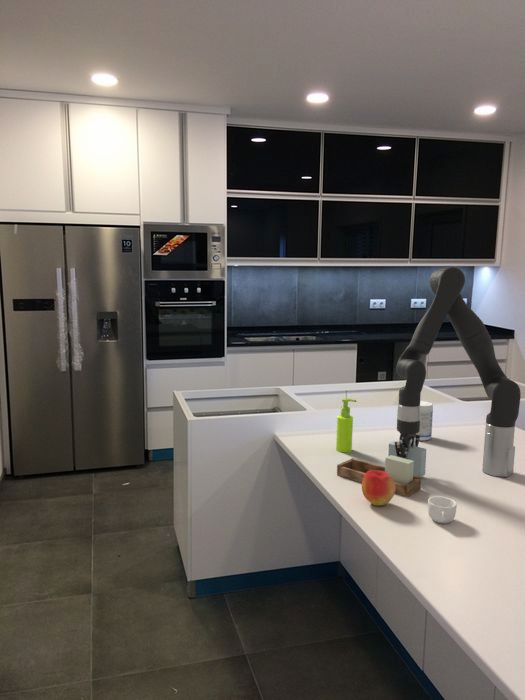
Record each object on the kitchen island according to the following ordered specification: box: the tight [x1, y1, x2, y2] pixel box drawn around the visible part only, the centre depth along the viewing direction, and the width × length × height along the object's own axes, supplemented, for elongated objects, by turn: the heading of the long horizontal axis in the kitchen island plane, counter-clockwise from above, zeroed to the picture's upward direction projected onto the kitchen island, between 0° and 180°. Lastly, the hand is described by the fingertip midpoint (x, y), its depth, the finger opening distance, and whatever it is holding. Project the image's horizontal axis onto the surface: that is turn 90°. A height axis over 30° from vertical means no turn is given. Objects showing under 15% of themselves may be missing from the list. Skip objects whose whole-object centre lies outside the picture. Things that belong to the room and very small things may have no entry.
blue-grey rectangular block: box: [387, 441, 427, 478], centre depth 192 cm, size 12×4×9 cm, turn 48°
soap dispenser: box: [335, 398, 357, 453], centre depth 216 cm, size 6×7×20 cm
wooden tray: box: [336, 457, 422, 498], centre depth 185 cm, size 26×8×4 cm, turn 48°
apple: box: [361, 470, 396, 507], centre depth 168 cm, size 10×10×10 cm
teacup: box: [427, 495, 457, 524], centre depth 157 cm, size 10×8×5 cm
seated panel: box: [384, 455, 414, 485], centre depth 180 cm, size 8×4×9 cm, turn 48°
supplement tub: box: [416, 400, 434, 442], centre depth 234 cm, size 10×10×15 cm
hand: (406, 466), depth 193 cm, fingers closed on blue-grey rectangular block, 3 cm apart
